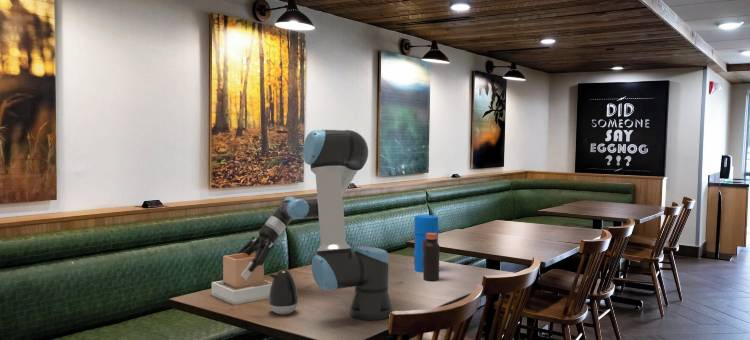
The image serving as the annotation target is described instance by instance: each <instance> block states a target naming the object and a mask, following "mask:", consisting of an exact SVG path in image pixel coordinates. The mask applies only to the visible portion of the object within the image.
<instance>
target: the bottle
mask: <svg viewBox="0 0 750 340" xmlns="http://www.w3.org/2000/svg"><path fill="white" fill-rule="evenodd" d="M426 240H427V242H426V243H425V244H424V267H423V272H422V273H423V274H422V275H423V276H422V277H423V280H424V281H428V282H437V281H439V280H440V244H439V242H438V243H437V242H436V240H437V233H426Z"/></svg>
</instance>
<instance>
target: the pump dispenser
mask: <svg viewBox="0 0 750 340" xmlns="http://www.w3.org/2000/svg"><path fill="white" fill-rule="evenodd" d="M269 277H270V278H273V279H272V281H271V282H272V285H271V289H270V294H269V298H268V305H269V307H270V309H271V310H272V312H274V313H276V315H289V314H291V313H293V312H294V311H295V310H296V308H297V305H298V303H299V294H298V288H297V284H296V282H295V279H294V277H293V275H292V274H291V272H290V271H289V270H287V269H280V270H278V271H277V272H276V274H274V273H269Z"/></svg>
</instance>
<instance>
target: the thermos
mask: <svg viewBox="0 0 750 340" xmlns="http://www.w3.org/2000/svg"><path fill="white" fill-rule="evenodd" d="M426 233H437V240H436V242H437V243H438V244H439V217H438V215H431V214H419V215H415V216H414V239H413V240H414V242H413V243H414V245H413V246H414V247H413V248H414V250H413V255H414V256H413V261H414V262H413V264H414V266H413V267H414V271H415V272H418V273H423V267H424V244H425V243H426V242H427V240H426Z"/></svg>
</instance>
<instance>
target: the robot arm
mask: <svg viewBox="0 0 750 340" xmlns="http://www.w3.org/2000/svg"><path fill="white" fill-rule="evenodd" d="M302 157H303V161H304V162H305V164H306V165H309V167H310V171H311V172H312V173H313V174H314V175H315V184H316V185H315V187H316V198H310V199H306V198H305V199H304V198H303V199H302V198H295V197H293V196H286V197H285V199H284V200H282V201H281V203H280V204H279V206H278V207H277V208H276V209H275V211H274V212H273V213H272V215H270V217H269V218H268V219H267V221H266V222H265V223H264V225H262V227H261V228H260V229H259V231H258V234H259V235H258V236H257V237H254V236H252V237H251V238H250V240H249V241H248V242H246V244H244V246H243V247H242V248H241V249H240V250H239V251H237V252H236V254H241V253H246V254H248V255H250V254H251V253H256V255H255V258H254V260H253V261H252V262H251V263H250V264H249V265H248V267H247V268H246V269H245V270H244V272H243V273H242V274H241V276H242V277H243V278H244V279H245V280H246V279H247V278H248V277H249V276H250V274H251V273H252V272H253V271H254V269H255V268H256V267H257V266H259V265H261V266H262V265H263V263H264V264H265V261H266V259H267V257H268V256H269V254H270V252H271V250H272V249H273V248H274V246H275V244H274V243H275V242H276V241H277V240H278V238H279V237H280V235H282V233H283V232H284V230H285V229H286V228H287V227H288V226H289V225H290V223H291V221H294V220H303V219H317V218H318V223H319V236H320V237H319V239H320V245H319V247H318V248H317V249H316V255H315V256H314V257H312V260H311V265H310V266H311V272H312V273H311V274H312V276H313V279H314V282H315V283H316V285H317V286H318V288H320V289H321V290H324V291H330V290H331V291H332V290H333V291H336V290H339V289H346V288H347V289H348V288H353V287H354V294H353V297H352V300H351V303H350V305H349V315H350V317H352V318H353V317H354V319H355V318H356V319H358V320H359V319H360V320H366V321H367V320H368V321H375V320H377V321H378V320H384V319H388V318H390V317H389V314H390V312H392V311H393V312H394V306H393V303H392V299H391V296H390V294H389V293H390V292H389V264H390V262H389V252H388V251H387V250H385V249H382V248H380V247H379V248H378V247H373V246H365V245H364V246H363V245H361V246H356V247H355V248H354V251H352V247H351V246H350V245H349V244H348V243H347V237H346V224H345V213H344V201H343V196H344V195H345V193H346V192H347V190H348V188H349V187H350V185H351V183H352V182H353V179H354V177H356V174H357V173H358V171H361V170H362V169H363V168H364V166H365V165H366V163H367V161H368V159H369V158H368V157H369V146H368V143H367V141H366V140H365V138H364V136H362V135H361V134H360V133H358V132H357V131H354V130H351V129H350V130H349V129H345V130H344V129H343V130H342V129H340V130H339V129H316V130H315V129H314V130H311V131H310V132H309V133H308V134H307V135H306V137H305V140H304V143H303V148H302Z"/></svg>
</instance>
